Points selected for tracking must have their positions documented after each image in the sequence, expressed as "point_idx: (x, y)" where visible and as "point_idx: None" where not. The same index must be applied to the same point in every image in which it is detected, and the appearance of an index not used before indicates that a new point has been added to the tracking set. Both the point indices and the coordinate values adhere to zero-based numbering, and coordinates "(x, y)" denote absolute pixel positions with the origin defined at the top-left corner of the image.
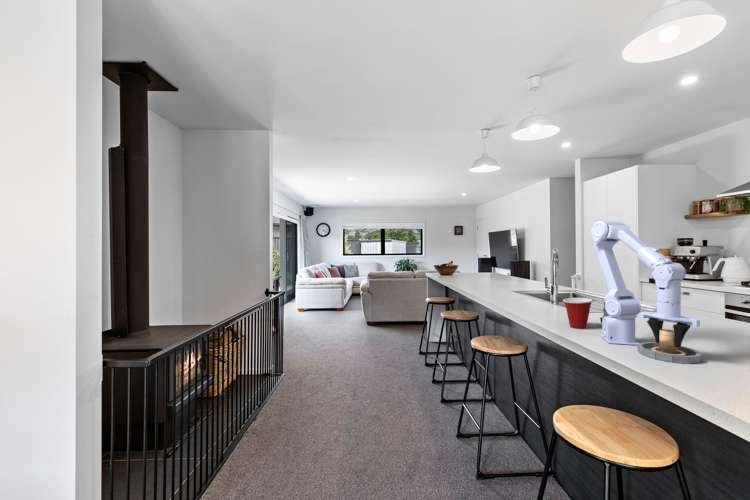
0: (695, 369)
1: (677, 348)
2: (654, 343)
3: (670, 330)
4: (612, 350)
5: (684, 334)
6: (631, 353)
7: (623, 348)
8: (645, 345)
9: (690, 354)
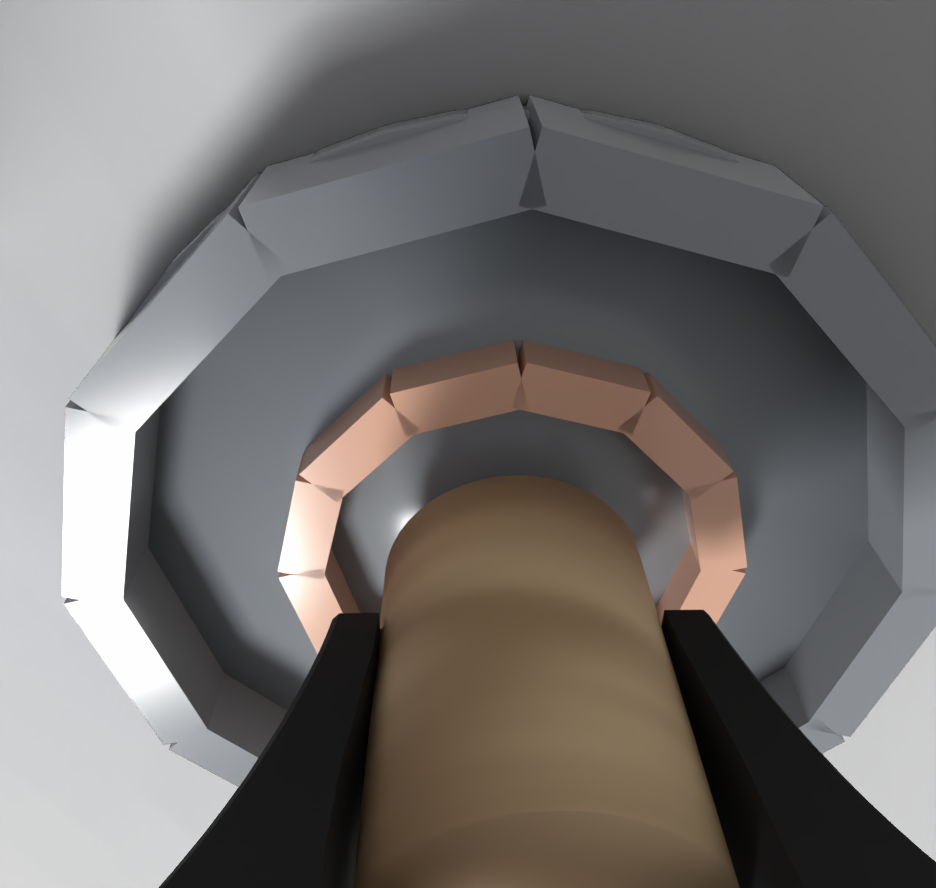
0: (890, 768)
1: (650, 592)
2: (163, 400)
3: (554, 872)
4: (53, 835)
5: (871, 836)
6: (226, 782)
7: (14, 685)
8: (140, 546)
9: (763, 303)
